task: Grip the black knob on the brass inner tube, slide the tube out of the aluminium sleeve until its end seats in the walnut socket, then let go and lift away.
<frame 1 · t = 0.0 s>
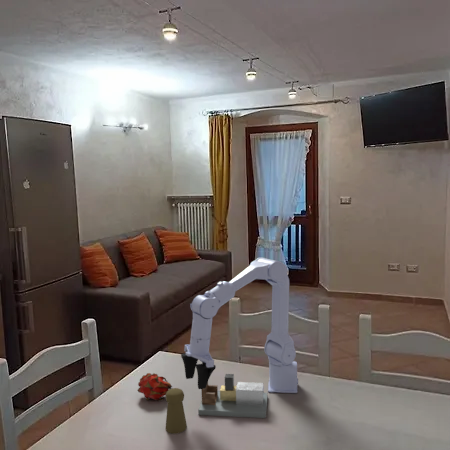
hand: (195, 383, 126), 11 cm above the table, tool pointing down, fingers open, 7 cm apart
aluminium sleeve: (250, 401, 132), resting on slate board
walnut socket: (210, 400, 134), resting on slate board
brass tube: (240, 387, 132), point 6 cm above the table, slide at 0.0 cm
cork: (176, 428, 122), on the table
dragon fruit: (155, 397, 139), on the table
slate board: (234, 405, 133), on the table
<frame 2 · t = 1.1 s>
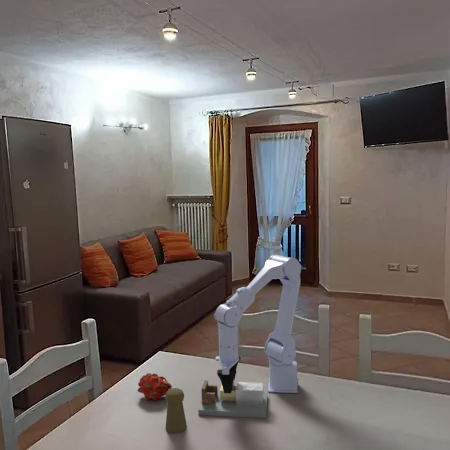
hand: (229, 386, 132), 6 cm above the table, tool pointing down, fingers open, 7 cm apart
nothing on the table moved.
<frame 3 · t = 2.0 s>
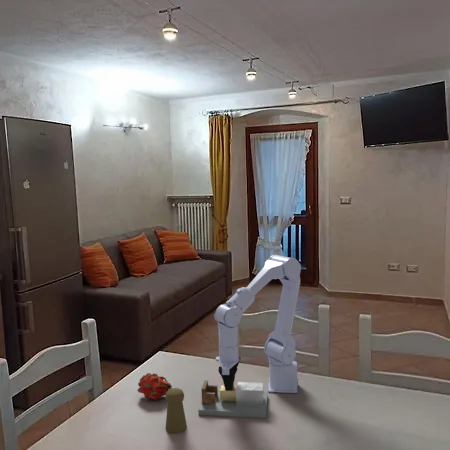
hand: (229, 386, 132), 6 cm above the table, tool pointing down, fingers closed on brass tube, 2 cm apart
brass tube: (240, 387, 132), point 6 cm above the table, slide at 0.0 cm, touching gripper
everything else where it was.
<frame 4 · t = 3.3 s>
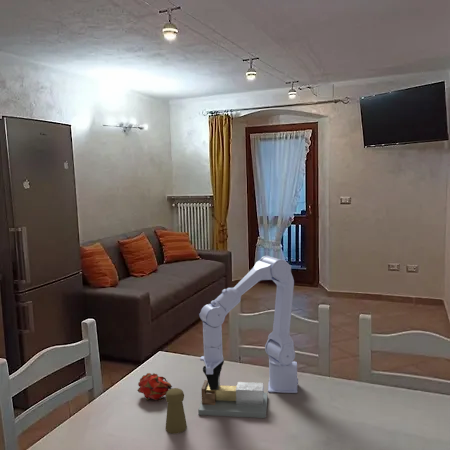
hand: (214, 386, 133), 6 cm above the table, tool pointing down, fingers closed on brass tube, 2 cm apart
brass tube: (225, 386, 132), point 6 cm above the table, slide at 4.5 cm, touching gripper, walnut socket
everything else where it was.
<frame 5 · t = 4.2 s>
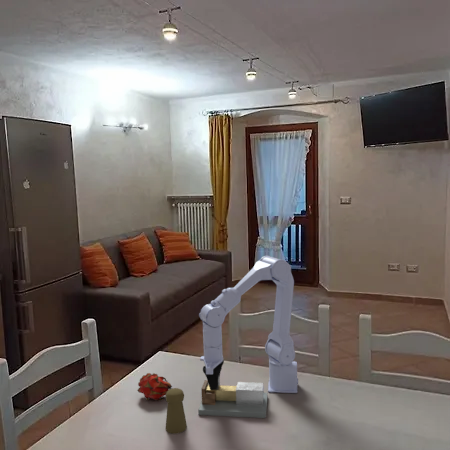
hand: (214, 386, 133), 6 cm above the table, tool pointing down, fingers closed on brass tube, 2 cm apart
brass tube: (225, 386, 132), point 6 cm above the table, slide at 4.5 cm, touching gripper, walnut socket
everything else where it was.
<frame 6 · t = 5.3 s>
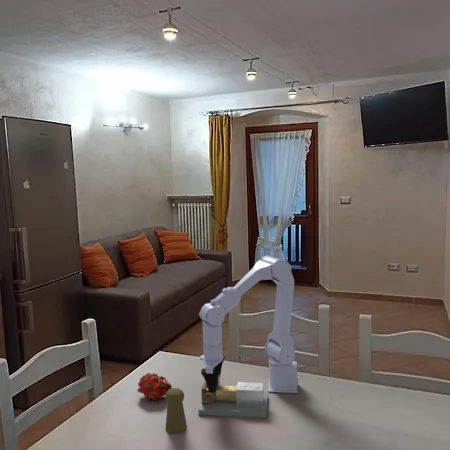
hand: (214, 385, 133), 6 cm above the table, tool pointing down, fingers open, 7 cm apart
brass tube: (225, 386, 132), point 6 cm above the table, slide at 4.5 cm, touching walnut socket
everything else where it was.
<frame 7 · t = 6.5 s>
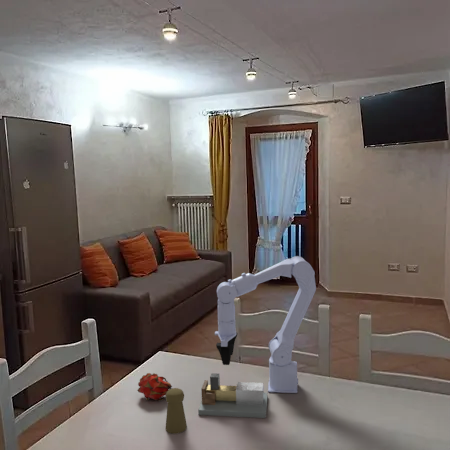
hand: (227, 359, 142), 10 cm above the table, tool pointing down, fingers open, 7 cm apart
nothing on the table moved.
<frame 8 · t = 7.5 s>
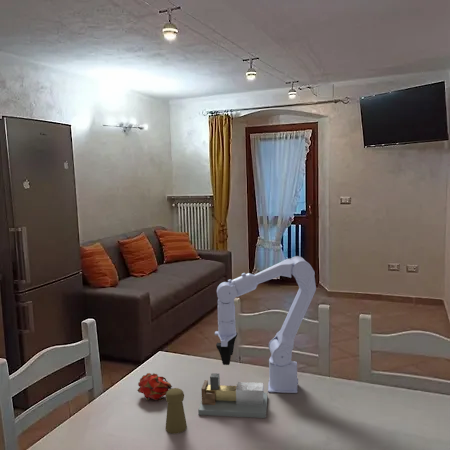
hand: (227, 359, 142), 10 cm above the table, tool pointing down, fingers open, 7 cm apart
nothing on the table moved.
at the end: brass tube slide at 4.5 cm; the gripper is holding nothing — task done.
